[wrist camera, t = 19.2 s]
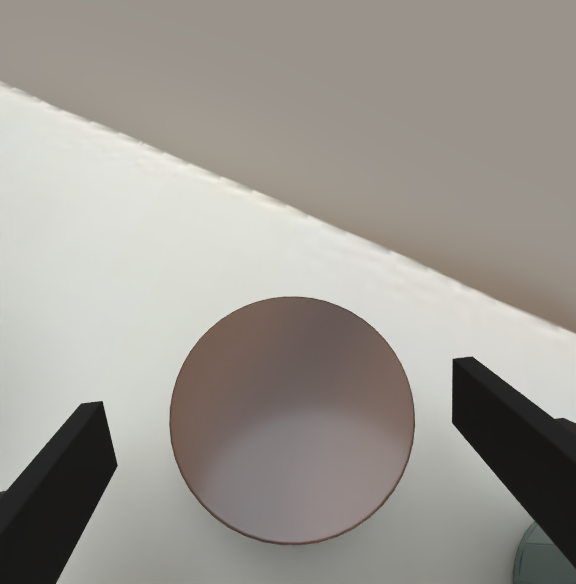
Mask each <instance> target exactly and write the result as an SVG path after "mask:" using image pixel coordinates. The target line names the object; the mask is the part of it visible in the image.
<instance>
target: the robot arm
mask: <svg viewBox="0 0 576 584" xmlns="http://www.w3.org/2000/svg"><path fill="white" fill-rule="evenodd" d="M452 423H453V425H454V426H455V427H456V428H457V429H458V430H459V432H460V433H461V434H462V435H463V436H464V438H465V439H466V440H467V441H468V442H469V443H470V445H471V446H472V447H473V448H474V449H475V451H476V452H477V453H478V454H479V455H480V456H481V458H482V459H483V460H484V461H485V462H486V464H487V465H488V466H489V467H490V468H491V470H492V471H493V472H494V473H495V474H496V475H497V477H498V478H499V479H500V480H501V481H502V483H503V484H504V485H505V486H506V487H507V488H508V490H509V491H510V492H511V493H512V494H513V496H514V497H515V498H516V499H517V500H518V501H519V503H520V504H521V505H522V506H523V507H524V509H525V510H526V511H527V512H528V513H529V514H530V516H531V517H532V518H533V519H534V520H535V522H536V523H537V524H538V525H539V526H540V527H541V529H542V530H543V531H544V532H545V533H546V535H547V536H548V537H549V538H550V539H551V541H552V542H553V543H554V544H555V545H556V546H557V548H558V549H559V550H560V551H561V552H562V554H563V555H564V556H565V557H566V558H567V559H568V561H569V562H570V563H571V564H572V565H573V567H574V568H575V569H576V423H574V422H571V421H569V420H567V419H565V418H559V419H554V418H553V417H551V416H550V415H549V414H547V413H546V412H545V411H543V410H542V409H541V408H539V407H538V406H537V405H535V404H534V403H533V402H531V401H530V400H529V399H528V398H526V397H525V396H524V395H522V394H521V393H520V392H518V391H517V390H516V389H514V388H513V387H512V386H510V385H509V384H508V383H506V382H505V381H504V380H502V379H501V378H500V377H499V376H497V375H496V374H495V373H493V372H492V371H491V370H489V369H488V368H487V367H485V366H484V365H483V364H481V363H480V362H479V361H477V360H476V359H475V358H474V357H464V358H456V359H453V377H452ZM117 466H118V465H117V461H116V457H115V452H114V448H113V444H112V440H111V435H110V431H109V427H108V423H107V418H106V414H105V410H104V406H103V401H99V402H91V403H82V404H80V406H79V407H78V408H77V409H76V410H75V411H74V413H73V414H72V415H71V416H70V417H69V418H68V420H67V421H66V422H65V423H64V424H63V425H62V427H61V428H60V429H59V430H58V431H57V432H56V434H55V435H54V436H53V437H52V438H51V439H50V441H49V442H48V443H47V444H46V445H45V446H44V448H43V449H42V450H41V451H40V452H39V453H38V455H37V456H36V457H35V458H34V459H33V460H32V462H31V463H30V464H29V465H28V466H27V467H26V469H25V470H24V471H23V472H22V473H21V474H20V476H19V477H18V478H17V479H16V480H15V481H14V483H13V484H12V485H11V486H10V487H9V489H8V490H7V491H3V492H0V584H56V582H57V581H58V579H59V577H60V575H61V573H62V571H63V569H64V567H65V565H66V563H67V561H68V560H69V558H70V556H71V554H72V552H73V550H74V548H75V546H76V544H77V542H78V540H79V539H80V537H81V535H82V533H83V531H84V529H85V527H86V525H87V523H88V521H89V519H90V518H91V516H92V514H93V512H94V510H95V508H96V506H97V504H98V502H99V500H100V498H101V497H102V495H103V493H104V491H105V489H106V487H107V485H108V483H109V481H110V479H111V477H112V476H113V474H114V472H115V470H116V468H117Z"/></svg>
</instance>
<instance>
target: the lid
mask: <svg viewBox="0 0 576 584" xmlns="http://www.w3.org/2000/svg"><path fill="white" fill-rule="evenodd" d="M169 426H170V436H171V444H172V448H173V452H174V456H175V460H176V462H177V465H178V468H179V470H180V473H181V475H182V477H183V479H184V480H185V482H186V484H187V486H188V488H189V489H190V491H191V492H192V493H193V495H194V496H195V497H196V499H197V500H198V501H199V503H200V504H201V505H202V506H203V507H204V508H205V509H206V510H207V511H208V512H209V513H210V514H211V515H212V516H213V517H215V518H216V519H217V520H219V521H220V522H222V523H223V524H224V525H226V526H227V527H228V528H230V529H232V530H234V531H236V532H238V533H240V534H242V535H244V536H246V537H249V538H252V539H256V540H259V541H262V542H266V543H272V544H278V545H305V544H312V543H319V542H322V541H325V540H329V539H332V538H335V537H338V536H340V535H342V534H344V533H346V532H348V531H350V530H352V529H354V528H355V527H357V526H358V525H360V524H361V523H363V522H364V521H366V520H367V519H368V518H370V517H371V516H372V515H373V514H374V513H375V512H376V511H377V510H378V509H379V508H380V507H381V506H382V505H383V504H384V503H385V501H386V500H387V499H388V498H389V496H390V495H391V494H392V493H393V491H394V490H395V488H396V486H397V484H398V483H399V481H400V479H401V477H402V476H403V473H404V471H405V468H406V466H407V463H408V461H409V457H410V453H411V449H412V445H413V439H414V429H415V412H414V404H413V397H412V392H411V389H410V385H409V382H408V378H407V376H406V374H405V371H404V369H403V367H402V364H401V363H400V361H399V359H398V358H397V356H396V354H395V352H394V351H393V349H392V348H391V347H390V346H389V344H388V343H387V342H386V340H385V339H384V338H383V337H382V336H381V335H380V334H379V333H378V332H377V331H376V330H375V329H374V328H373V327H372V326H371V325H369V324H368V323H367V322H366V321H364V320H363V319H362V318H360V317H359V316H357V315H355V314H354V313H352V312H351V311H348V310H346V309H344V308H342V307H340V306H338V305H335V304H332V303H329V302H326V301H323V300H318V299H314V298H306V297H278V298H271V299H266V300H262V301H258V302H255V303H252V304H249V305H247V306H244V307H242V308H240V309H238V310H236V311H234V312H232V313H231V314H229V315H227V316H226V317H224V318H223V319H221V320H220V321H219V322H217V323H216V324H215V325H214V326H213V327H211V328H210V329H209V330H208V331H207V332H206V333H205V334H204V335H203V336H202V337H201V338H200V339H199V341H198V342H197V343H196V345H195V346H194V347H193V349H192V350H191V351H190V353H189V355H188V356H187V358H186V360H185V362H184V363H183V365H182V368H181V370H180V372H179V375H178V377H177V380H176V383H175V386H174V390H173V393H172V399H171V405H170V422H169Z"/></svg>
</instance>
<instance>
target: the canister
mask: <svg viewBox="0 0 576 584" xmlns="http://www.w3.org/2000/svg"><path fill="white" fill-rule="evenodd" d="M514 584H576V569H575V568H574V567H573V565H572V564H571V563H570V562H569V561H568V559H567V558H566V557H565V556H564V555H563V554H562V552H561V551H560V550H559V549H558V548H557V546H556V545H555V544H554V543H553V542H552V541H551V539H550V538H549V537H548V536H547V535H546V533H545V532H544V531H543V530H542V529H541V527H540V526H539V525H538V524H537V523H536V522H534V523H533V524H532V526H531V527H530V528H529V529H528V530H527V532H526V534H525V535H524V537H523V539H522V541H521V543H520V546H519V548H518V552H517V556H516V560H515V568H514Z"/></svg>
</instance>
